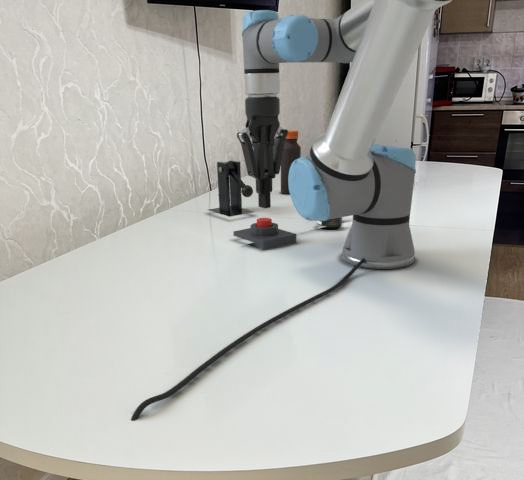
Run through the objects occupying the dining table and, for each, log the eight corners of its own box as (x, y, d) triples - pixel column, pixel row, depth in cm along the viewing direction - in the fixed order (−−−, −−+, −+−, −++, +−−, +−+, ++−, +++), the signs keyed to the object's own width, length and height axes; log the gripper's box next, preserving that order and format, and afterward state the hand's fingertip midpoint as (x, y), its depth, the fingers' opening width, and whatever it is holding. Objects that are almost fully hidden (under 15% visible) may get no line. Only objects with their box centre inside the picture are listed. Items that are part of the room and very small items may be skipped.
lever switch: (255, 216, 152) (254, 162, 146) (229, 220, 148) (227, 165, 141) (232, 209, 161) (229, 158, 154) (207, 213, 156) (203, 161, 149)
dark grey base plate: (296, 242, 126) (296, 226, 124) (263, 250, 121) (262, 233, 119) (265, 233, 135) (265, 217, 133) (233, 240, 129) (232, 224, 127)
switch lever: (253, 198, 146) (256, 189, 144) (244, 200, 144) (247, 190, 142) (229, 169, 151) (232, 160, 149) (220, 170, 149) (223, 161, 147)
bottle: (278, 194, 181) (278, 132, 172) (282, 190, 187) (282, 130, 178) (298, 194, 180) (299, 132, 171) (301, 191, 186) (302, 130, 177)
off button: (274, 226, 126) (274, 219, 125) (262, 229, 124) (262, 221, 123) (265, 224, 128) (265, 216, 127) (253, 226, 126) (253, 219, 125)
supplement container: (347, 228, 138) (349, 187, 133) (326, 232, 134) (328, 190, 130) (331, 223, 143) (332, 183, 138) (311, 227, 140) (312, 186, 135)
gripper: (274, 95, 119) (276, 201, 130) (227, 97, 112) (232, 208, 123) (296, 95, 114) (295, 205, 124) (248, 96, 107) (251, 213, 117)
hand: (264, 207), depth 124 cm, fingers closed
